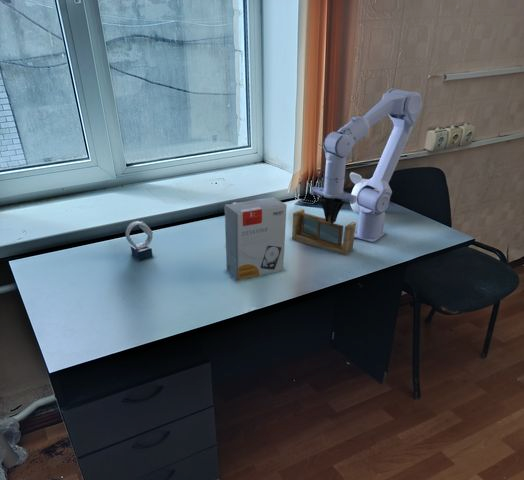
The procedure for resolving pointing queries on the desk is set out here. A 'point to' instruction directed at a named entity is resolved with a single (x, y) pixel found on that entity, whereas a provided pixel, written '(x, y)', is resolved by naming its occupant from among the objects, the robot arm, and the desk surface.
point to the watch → (141, 249)
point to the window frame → (307, 233)
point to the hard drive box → (255, 237)
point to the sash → (329, 232)
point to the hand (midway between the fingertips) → (330, 221)
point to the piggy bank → (357, 189)
